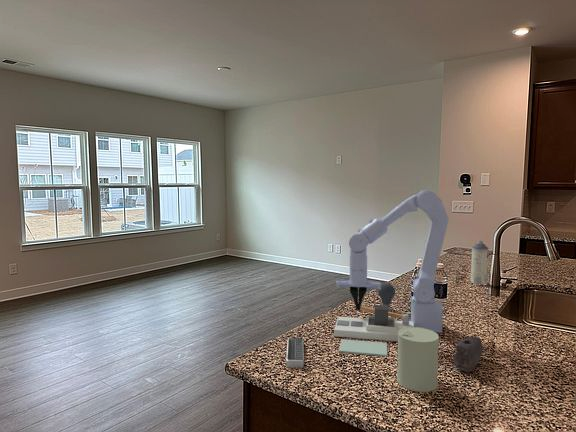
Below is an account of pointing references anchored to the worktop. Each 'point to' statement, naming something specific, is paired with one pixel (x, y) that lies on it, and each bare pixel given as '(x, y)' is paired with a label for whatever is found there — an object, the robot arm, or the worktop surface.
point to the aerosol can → (479, 264)
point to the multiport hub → (295, 353)
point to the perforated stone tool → (468, 353)
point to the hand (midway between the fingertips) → (358, 309)
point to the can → (418, 359)
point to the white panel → (368, 328)
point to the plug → (381, 317)
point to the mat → (363, 347)
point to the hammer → (390, 314)
